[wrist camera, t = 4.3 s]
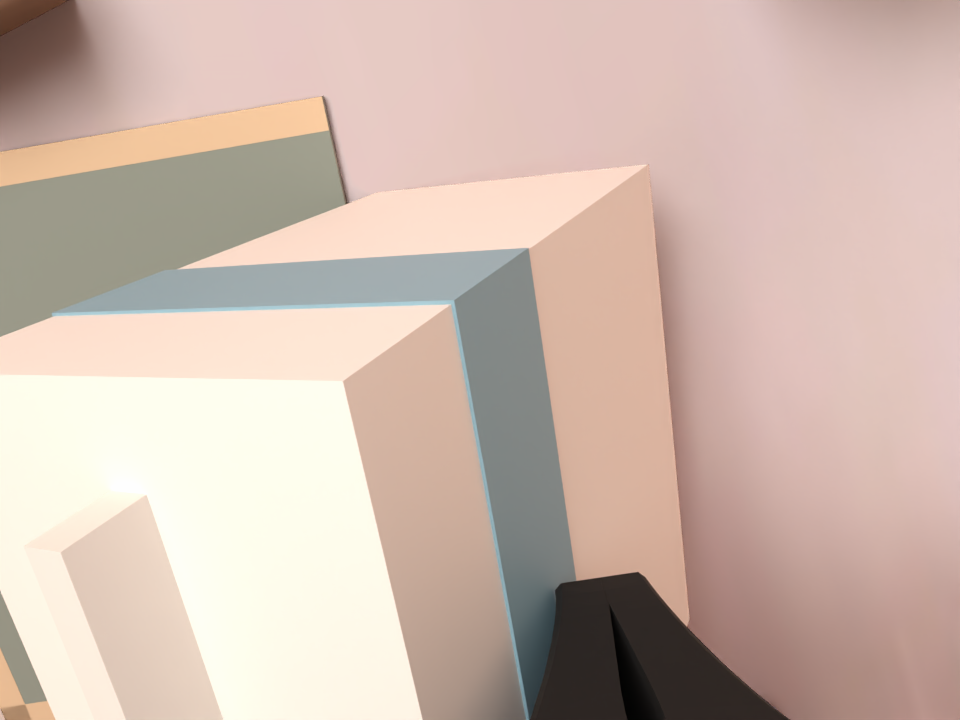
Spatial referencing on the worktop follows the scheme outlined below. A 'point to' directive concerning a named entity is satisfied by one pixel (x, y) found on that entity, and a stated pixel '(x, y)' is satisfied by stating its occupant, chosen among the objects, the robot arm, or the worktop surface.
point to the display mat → (145, 233)
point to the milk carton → (344, 459)
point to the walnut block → (23, 12)
